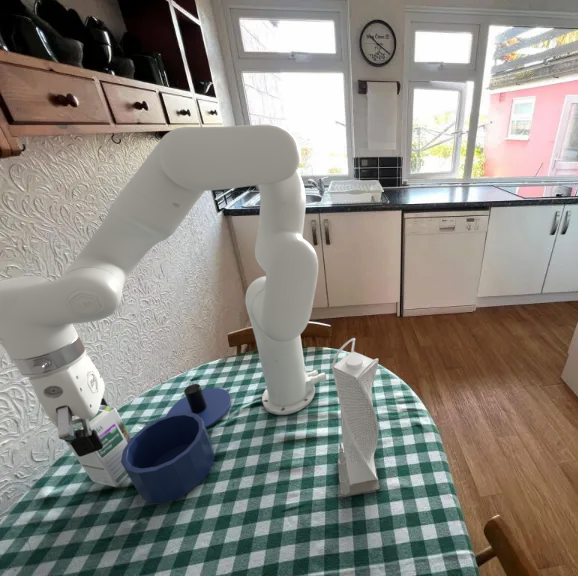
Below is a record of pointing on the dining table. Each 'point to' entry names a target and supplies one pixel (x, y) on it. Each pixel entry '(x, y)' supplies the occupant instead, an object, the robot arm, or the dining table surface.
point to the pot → (169, 457)
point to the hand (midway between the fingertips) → (96, 433)
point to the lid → (204, 403)
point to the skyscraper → (356, 422)
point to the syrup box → (105, 447)
